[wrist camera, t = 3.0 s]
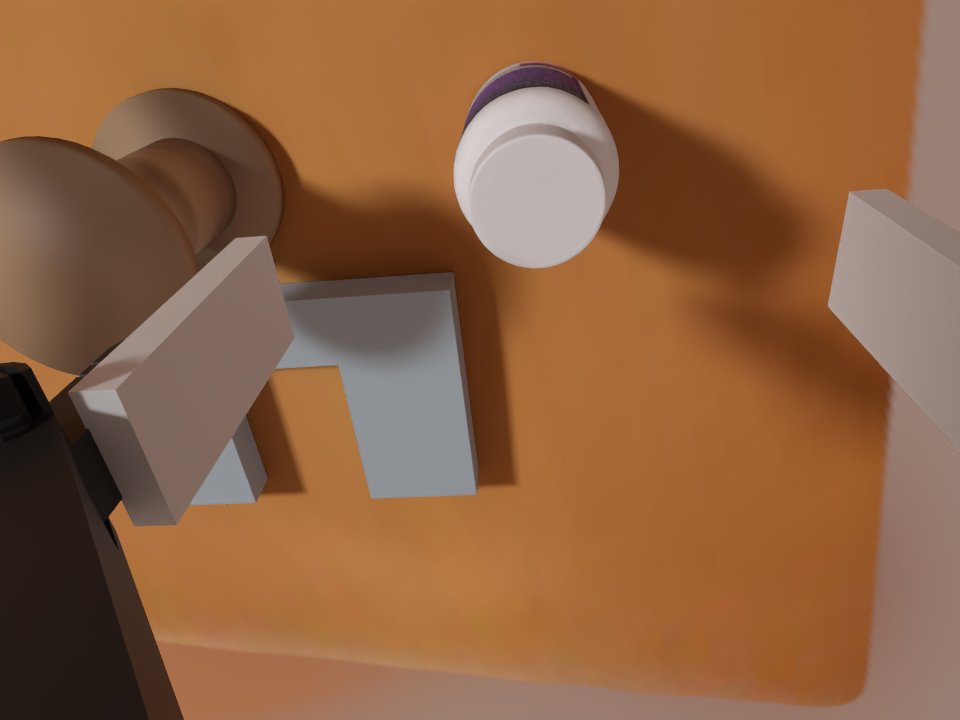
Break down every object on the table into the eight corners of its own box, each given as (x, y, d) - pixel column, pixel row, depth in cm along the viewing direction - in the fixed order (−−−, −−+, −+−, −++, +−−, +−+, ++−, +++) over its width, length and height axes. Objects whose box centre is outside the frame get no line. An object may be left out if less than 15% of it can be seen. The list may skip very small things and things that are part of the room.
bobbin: (141, 274, 31) (6, 384, 23) (71, 97, 27) (-122, 155, 19) (302, 262, 31) (223, 371, 22) (256, 79, 26) (137, 130, 18)
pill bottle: (439, 130, 27) (404, 203, 19) (535, 27, 25) (542, 58, 17) (529, 220, 29) (532, 323, 21) (625, 131, 27) (672, 206, 18)
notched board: (173, 482, 38) (157, 506, 37) (90, 297, 32) (66, 315, 30) (478, 469, 37) (476, 494, 35) (453, 271, 30) (449, 290, 29)
